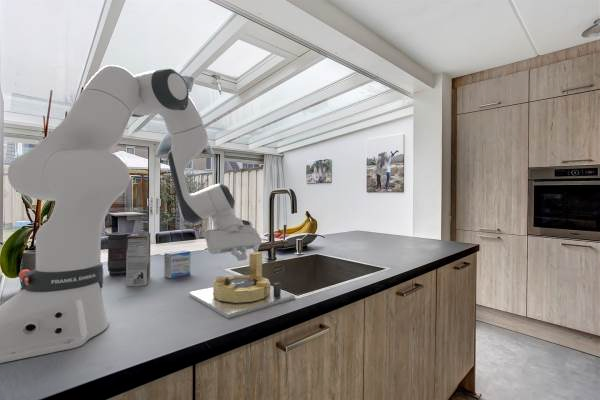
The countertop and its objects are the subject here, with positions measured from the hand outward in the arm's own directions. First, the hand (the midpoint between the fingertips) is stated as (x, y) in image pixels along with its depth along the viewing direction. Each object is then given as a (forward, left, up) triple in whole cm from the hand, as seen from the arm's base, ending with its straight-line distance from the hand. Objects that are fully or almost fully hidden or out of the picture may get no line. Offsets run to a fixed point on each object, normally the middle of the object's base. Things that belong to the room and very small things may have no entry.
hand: (243, 259), depth 105 cm
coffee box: (-27, +22, -8) cm, 35 cm away
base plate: (-9, -13, -8) cm, 18 cm away
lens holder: (-8, -13, -6) cm, 17 cm away
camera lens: (-29, +37, -8) cm, 47 cm away
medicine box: (-14, +22, -8) cm, 27 cm away
